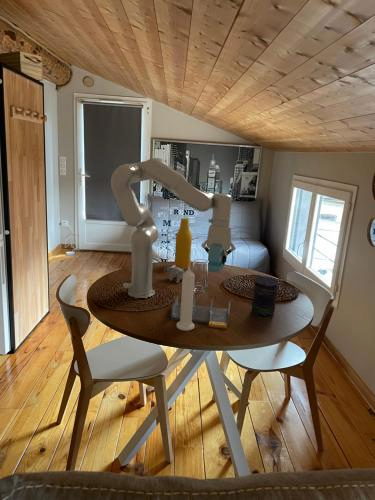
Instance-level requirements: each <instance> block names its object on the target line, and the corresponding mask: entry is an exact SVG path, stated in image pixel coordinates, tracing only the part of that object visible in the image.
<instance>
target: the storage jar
mask: <svg viewBox="0 0 375 500" xmlns="http://www.w3.org/2000/svg"><path fill="white" fill-rule="evenodd" d="M278 285H279V281H278V280H277V279H274V278H271V277H267V276H265V277H263V276H262V277H257V278H255V280H254V285H253V299H252V303H251V310H250V311H251V314H252V315H253V316H255V317H256V318H260V319H271V318H273V317H274V315H275V310H276V297H277V294H278V289H279V288H278V287H279V286H278Z"/></svg>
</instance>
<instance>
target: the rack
mask: <svg viewBox="0 0 375 500" xmlns="http://www.w3.org/2000/svg"><path fill="white" fill-rule="evenodd" d="M179 298H180V297H179V294H177V295H176V297H175V299H174V301H173V303H172V305H171V309H170V320H174V321H175V320H176V321H180V314H181V302H179ZM196 299H197V298H196V296H193V308H192V323H199V324H208V327H211V328H217V329H228V328H227V327H229V323H230V313H231V312H230V311H231V310H230V309H231V300H228V308H224V307H223V308H221V307H215V306H213V305H214V304H213V303H214V298H211V300H210V305H209V306H205V305H199V304H198V305H197V304H196Z"/></svg>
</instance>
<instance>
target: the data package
mask: <svg viewBox="0 0 375 500" xmlns="http://www.w3.org/2000/svg"><path fill="white" fill-rule="evenodd" d="M223 257H224V250H222V245H215V244H212V245H211V246H210V251H209V261H208V265H207V268H208V269H207V271H208V272H211V273H217V274H219V273H220V272H221V271H222V270H223V268H224V267H225V265H226V263H225V264H224V265H223Z"/></svg>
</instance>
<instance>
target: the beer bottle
mask: <svg viewBox="0 0 375 500" xmlns="http://www.w3.org/2000/svg"><path fill="white" fill-rule="evenodd" d="M192 238H193V237H192V232H191V230H190V219H189V218H188V217H181V218H180V225H179V229H178V231H177V233H176V236H175V250H174V252H175V254H174V264H173V265H176V267H177V268H180V269H182V268H183V269H184V270H188V267H189V266H190V267H191V256H192V255H191V254H192V242H193V241H192V240H193V239H192Z"/></svg>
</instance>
